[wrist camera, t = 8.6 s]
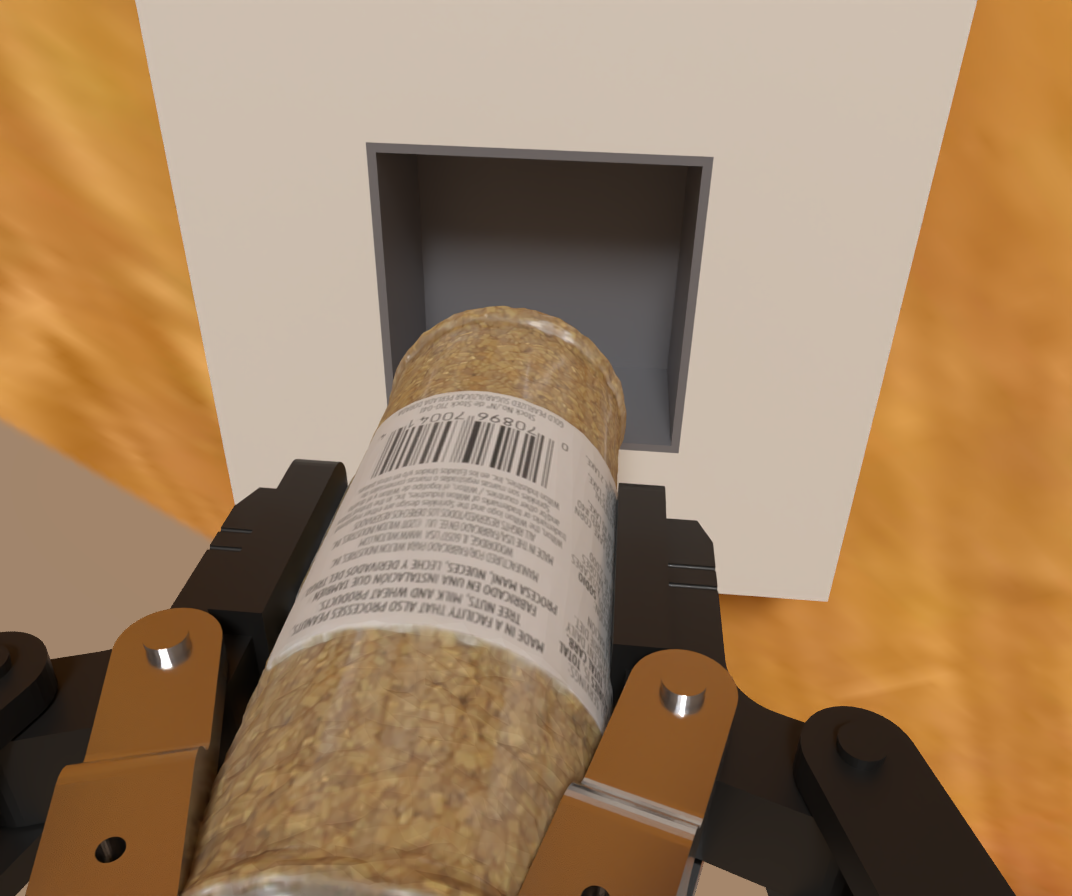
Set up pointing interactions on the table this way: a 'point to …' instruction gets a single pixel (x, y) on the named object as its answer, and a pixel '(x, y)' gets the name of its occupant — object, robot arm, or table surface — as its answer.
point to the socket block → (567, 224)
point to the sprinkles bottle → (439, 634)
